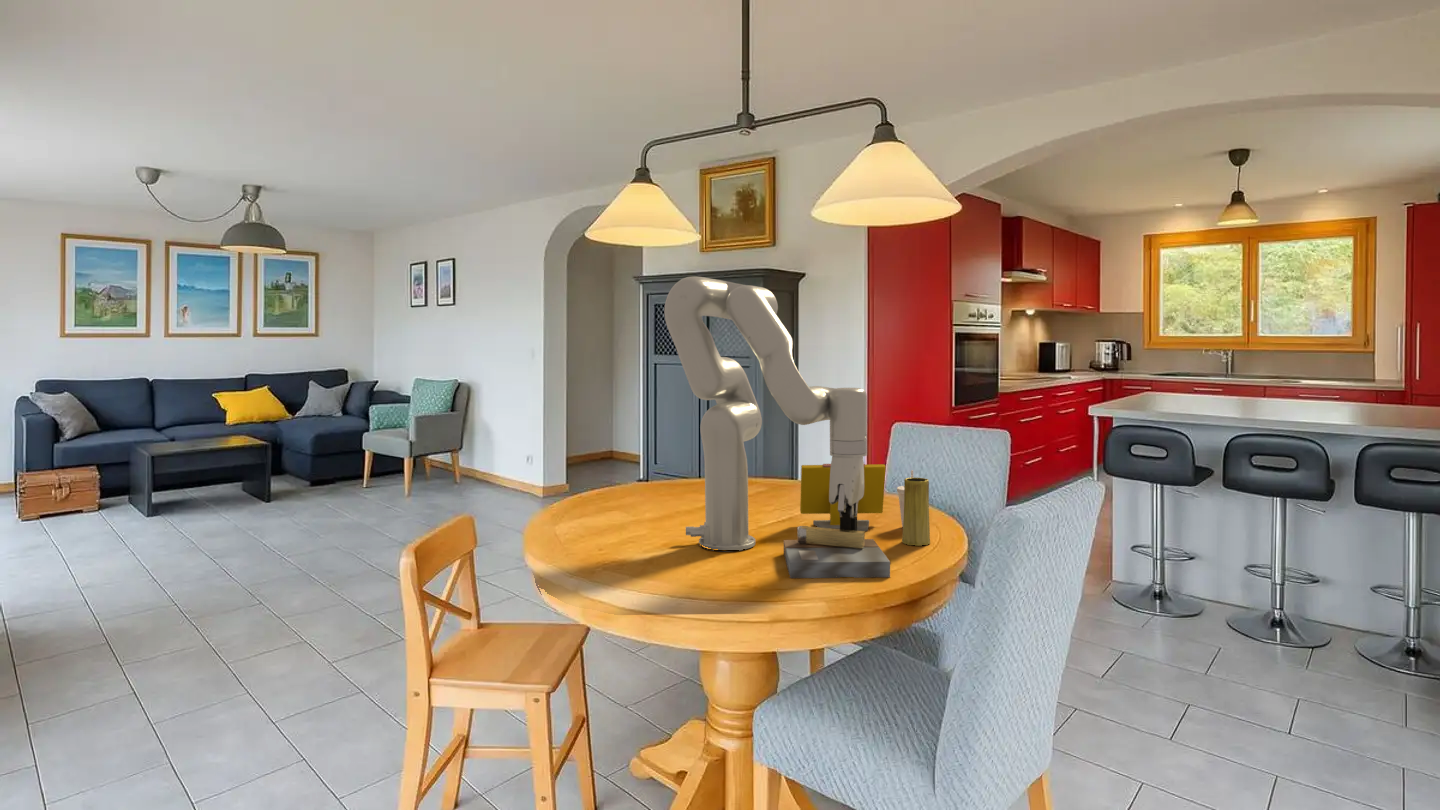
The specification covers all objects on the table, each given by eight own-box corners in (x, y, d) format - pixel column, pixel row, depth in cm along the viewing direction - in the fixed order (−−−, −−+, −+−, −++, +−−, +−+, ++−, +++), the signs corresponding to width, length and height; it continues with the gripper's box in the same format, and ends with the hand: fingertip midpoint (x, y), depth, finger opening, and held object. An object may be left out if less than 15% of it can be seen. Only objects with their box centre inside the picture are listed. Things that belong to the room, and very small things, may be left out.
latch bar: (795, 542, 160) (795, 528, 160) (799, 539, 162) (799, 525, 162) (862, 548, 155) (862, 533, 154) (864, 545, 157) (864, 530, 157)
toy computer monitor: (881, 523, 190) (881, 460, 189) (887, 531, 182) (887, 465, 181) (800, 524, 191) (799, 461, 190) (802, 531, 183) (802, 466, 182)
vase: (931, 547, 168) (931, 482, 167) (902, 545, 169) (902, 481, 168) (929, 539, 174) (929, 477, 173) (901, 538, 175) (901, 476, 174)
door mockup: (790, 578, 147) (790, 562, 147) (783, 553, 164) (783, 539, 164) (890, 577, 147) (890, 561, 146) (873, 553, 164) (873, 538, 163)
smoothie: (908, 532, 181) (909, 473, 180) (890, 526, 187) (891, 469, 186) (929, 528, 184) (930, 470, 183) (911, 523, 190) (911, 467, 189)
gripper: (841, 442, 167) (841, 526, 168) (819, 451, 153) (819, 542, 155) (875, 444, 163) (875, 529, 165) (855, 453, 150) (856, 546, 151)
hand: (848, 535), depth 160 cm, fingers closed
